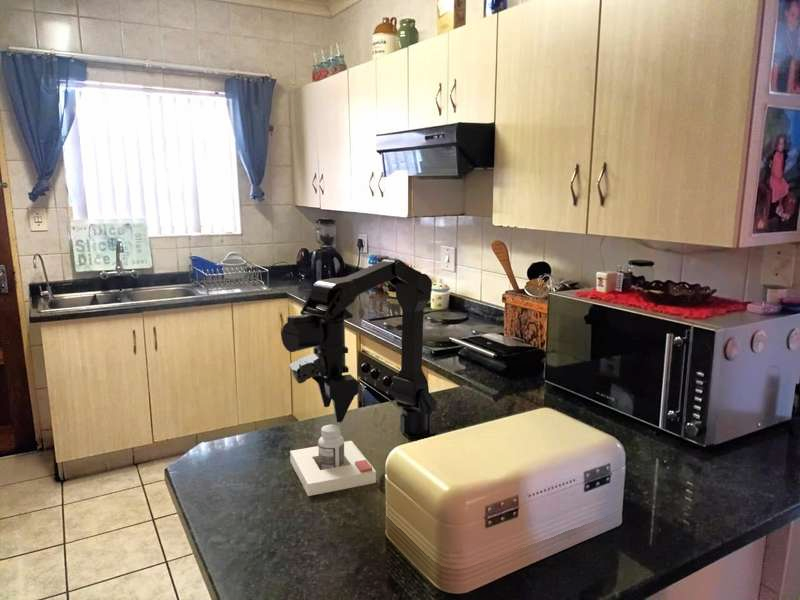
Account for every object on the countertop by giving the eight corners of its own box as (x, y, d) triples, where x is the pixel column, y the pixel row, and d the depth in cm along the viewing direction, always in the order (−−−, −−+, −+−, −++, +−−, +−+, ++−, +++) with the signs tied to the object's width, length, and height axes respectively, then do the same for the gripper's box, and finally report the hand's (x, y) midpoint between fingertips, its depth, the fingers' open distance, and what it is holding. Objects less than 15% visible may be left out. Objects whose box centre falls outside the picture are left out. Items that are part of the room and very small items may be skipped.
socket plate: (351, 450, 133) (351, 438, 132) (375, 482, 118) (375, 468, 118) (290, 461, 127) (290, 448, 127) (308, 496, 113) (307, 481, 112)
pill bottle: (335, 463, 127) (334, 421, 125) (349, 472, 122) (349, 428, 121) (314, 470, 123) (313, 427, 121) (327, 480, 119) (326, 435, 117)
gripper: (282, 335, 124) (285, 404, 127) (303, 358, 108) (306, 437, 110) (332, 330, 129) (334, 397, 132) (360, 351, 112) (361, 428, 115)
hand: (332, 414), depth 122 cm, fingers open, 9 cm apart
